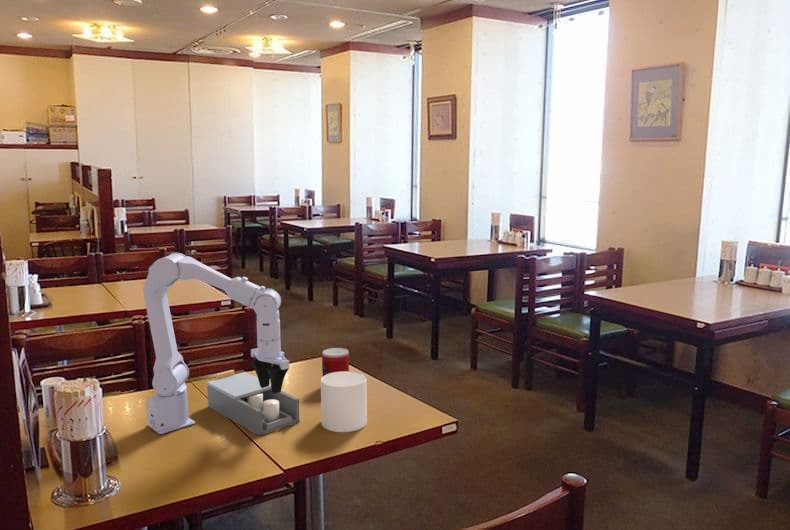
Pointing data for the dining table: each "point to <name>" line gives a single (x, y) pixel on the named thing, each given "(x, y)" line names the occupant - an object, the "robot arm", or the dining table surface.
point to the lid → (237, 384)
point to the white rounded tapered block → (256, 400)
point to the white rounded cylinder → (271, 410)
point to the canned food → (335, 360)
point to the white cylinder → (343, 401)
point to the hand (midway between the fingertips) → (270, 389)
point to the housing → (255, 410)
